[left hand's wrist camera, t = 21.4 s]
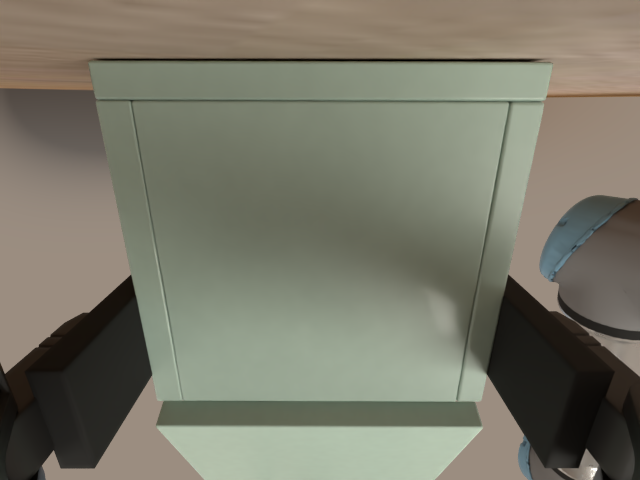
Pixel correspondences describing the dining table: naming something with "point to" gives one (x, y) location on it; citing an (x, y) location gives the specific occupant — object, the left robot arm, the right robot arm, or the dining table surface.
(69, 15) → the dining table surface
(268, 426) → the lid
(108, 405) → the left robot arm
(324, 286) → the chest
